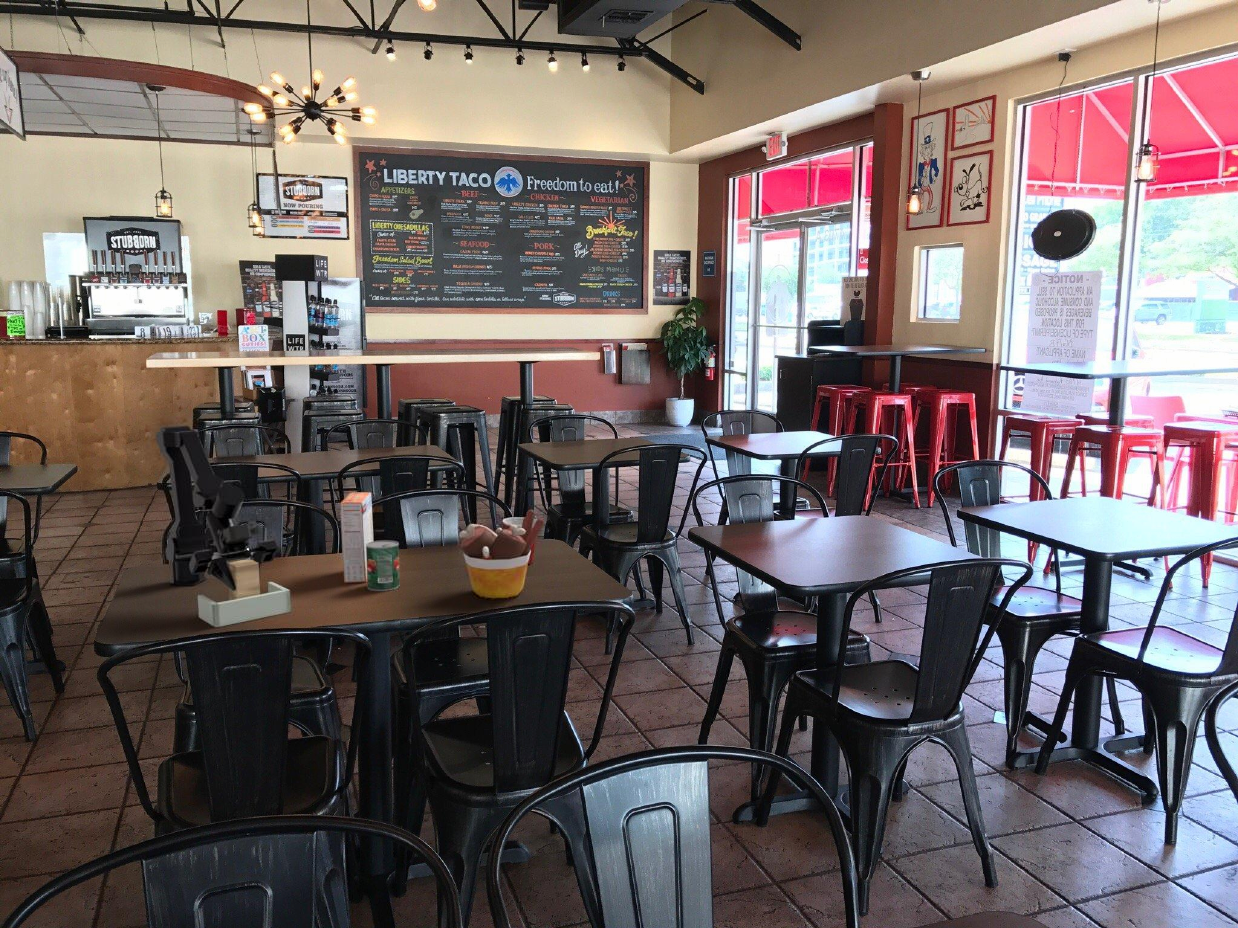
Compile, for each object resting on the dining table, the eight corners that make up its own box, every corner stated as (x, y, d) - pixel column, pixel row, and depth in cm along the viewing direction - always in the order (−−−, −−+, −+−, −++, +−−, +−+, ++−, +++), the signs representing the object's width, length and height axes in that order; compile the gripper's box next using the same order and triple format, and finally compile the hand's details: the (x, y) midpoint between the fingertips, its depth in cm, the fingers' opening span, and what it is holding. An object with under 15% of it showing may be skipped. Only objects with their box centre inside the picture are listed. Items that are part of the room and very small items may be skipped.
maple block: (230, 614, 219) (227, 562, 217) (252, 609, 222) (249, 558, 221) (239, 619, 215) (236, 566, 214) (261, 614, 219) (258, 562, 217)
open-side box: (198, 617, 217) (197, 595, 216) (273, 602, 228) (272, 581, 228) (215, 627, 210) (214, 605, 209) (291, 611, 221) (290, 590, 220)
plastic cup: (540, 568, 260) (540, 524, 258) (500, 568, 260) (499, 524, 259) (544, 558, 271) (544, 516, 269) (505, 558, 271) (505, 515, 269)
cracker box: (352, 569, 259) (349, 491, 255) (375, 568, 259) (372, 491, 256) (341, 583, 245) (338, 501, 242) (366, 583, 245) (363, 501, 242)
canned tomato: (361, 587, 242) (359, 543, 240) (388, 580, 247) (386, 538, 246) (379, 593, 236) (377, 549, 235) (406, 586, 242) (405, 543, 240)
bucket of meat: (472, 607, 225) (470, 523, 222) (450, 589, 240) (448, 510, 237) (551, 596, 234) (551, 515, 231) (525, 579, 249) (525, 503, 246)
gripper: (190, 515, 212) (212, 575, 206) (273, 505, 225) (296, 560, 218) (180, 544, 219) (200, 602, 213) (261, 532, 231) (283, 587, 225)
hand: (246, 587), depth 217 cm, fingers closed on maple block, 5 cm apart
